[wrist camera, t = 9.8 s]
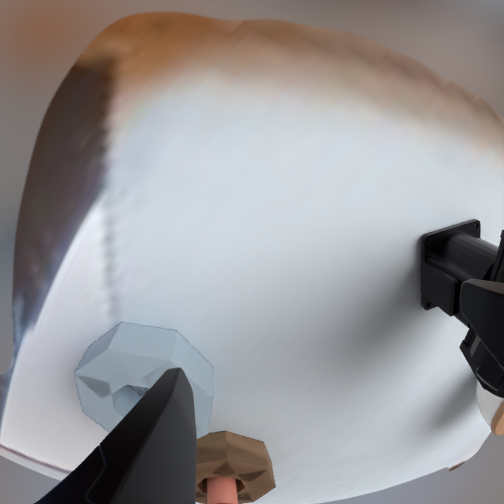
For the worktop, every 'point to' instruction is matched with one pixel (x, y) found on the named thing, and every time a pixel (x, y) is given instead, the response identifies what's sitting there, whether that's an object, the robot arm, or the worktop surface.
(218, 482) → the pink rounded cylinder
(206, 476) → the walnut bead
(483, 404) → the lidded jar
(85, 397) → the blue bead
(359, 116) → the worktop surface
